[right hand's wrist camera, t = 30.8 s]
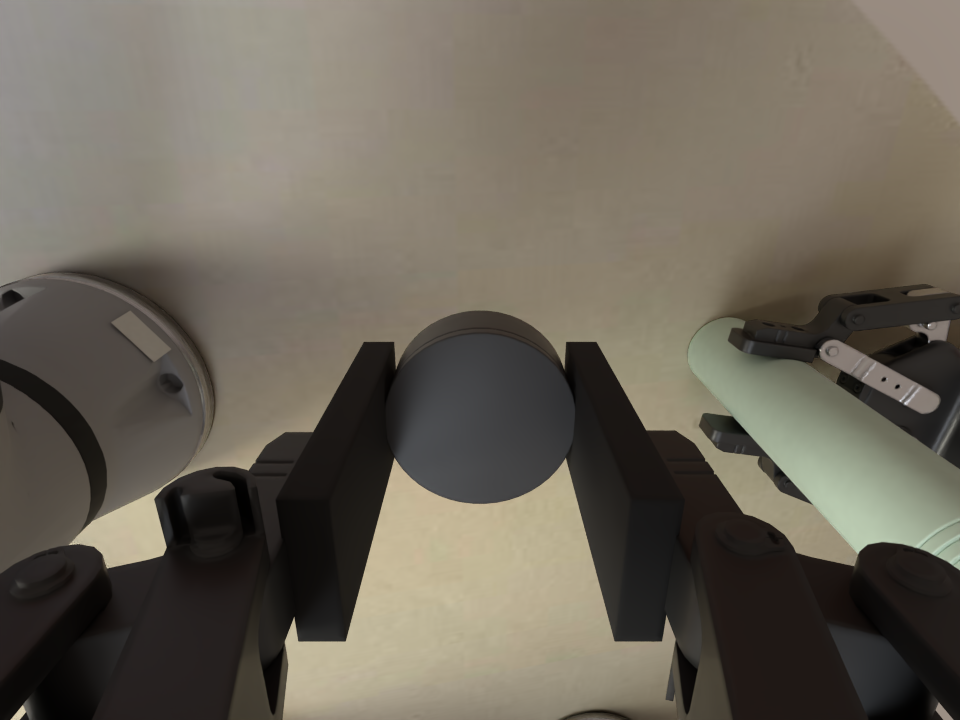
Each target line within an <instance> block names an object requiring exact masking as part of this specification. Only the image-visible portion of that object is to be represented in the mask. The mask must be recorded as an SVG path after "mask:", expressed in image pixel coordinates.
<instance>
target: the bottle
mask: <svg viewBox="0 0 960 720" xmlns="http://www.w3.org/2000/svg"><path fill="white" fill-rule="evenodd" d="M745 322H746V321H744V320H741V319H738V318H732V317H727V318H720V319H717V320H714V321H711V322H709V323H708V324H706V325H705V326H703V327H702V328H701V329H700V330H699V331H698V332H697V333H696V334H695V335H694V337H693V339H692V340H691V342H690V345H689V348H688V363H689V366H690V369H691V370H692V372H693V373H694V374H695V375H696V377H697V378H698V379H699V380H700V381H701V382H702V383H703V384H704V385H705V386H706V388H707V389H708V390H709V391H710V392H711V393H712V394H713V395H714V396H715V397H716V399H717V400H718V401H719V402H720V403H721V404H722V405H723V406H724V407H725V408H726V410H727V411H728V412H729V413H730V414H731V415H732V416H733V417H734V418H735V419H736V420H737V422H738V423H739V424H740V425H741V426H742V427H743V428H744V429H745V430H746V431H747V433H748V434H749V435H750V436H751V437H752V438H753V439H754V440H755V441H756V442H757V444H758V445H759V446H760V447H761V448H762V449H763V450H764V451H765V452H766V453H767V455H768V456H769V457H770V458H771V459H772V460H773V461H774V462H775V463H776V464H777V465H778V467H779V468H780V469H781V470H782V471H783V472H784V473H785V474H786V475H787V476H788V478H789V479H790V480H791V481H792V482H793V483H794V484H795V485H796V486H797V487H798V489H799V490H800V491H801V492H802V493H803V494H804V495H805V496H806V497H807V498H808V500H809V501H810V502H811V503H812V504H813V505H814V506H815V507H816V508H817V509H818V511H819V512H820V513H821V514H822V515H823V516H824V517H825V518H826V519H827V520H828V521H829V523H830V524H831V525H832V526H833V527H834V528H835V529H836V530H837V531H838V532H839V534H840V535H841V536H842V537H843V538H844V539H845V540H846V541H847V542H848V543H849V545H850V546H851V547H852V548H853V549H854V550H855V551H856V552H857V553H858V554H859V551H861V550H862V549H863V548H864V547H865V546H866V545H868V544H873V543H879V542H888V543H898V544H904V545H908V546H913V547H914V548H919V549H922V550H925V551H927V552H929V553H931V554H933V555H935V556H937V557H939V558H941V559H943V560H945V561H947V562H949V563H950V564H952V565H953V566H954V567H956V568H957V569H959V570H960V469H959V468H957V467H956V466H954V465H953V464H951V463H950V462H948V461H947V460H946V459H944V458H943V457H941V456H940V455H938V454H937V453H935V452H934V451H932V450H931V449H930V448H928V447H927V446H925V445H924V444H922V443H921V442H919V441H918V440H917V439H915V438H914V437H912V436H911V435H909V434H908V433H906V432H905V431H904V430H902V429H901V428H899V427H898V426H896V425H895V424H893V423H892V422H891V421H889V420H888V419H886V418H885V417H883V416H882V415H880V414H879V413H878V412H876V411H875V410H873V409H872V408H870V407H869V406H867V405H866V404H864V403H863V402H862V401H860V400H859V399H857V398H856V397H854V396H853V395H851V394H850V393H849V392H847V391H846V390H844V389H843V388H841V387H840V386H838V385H837V384H836V383H834V382H833V381H831V380H830V379H828V378H827V377H825V376H824V375H823V374H821V373H820V372H818V371H817V370H815V369H814V368H812V367H811V366H810V365H808V364H807V363H805V362H803V361H797V360H789V359H782V358H775V357H767V356H760V355H753V354H748V353H744V352H742V351H740V350H738V349H737V348H736V347H734V346H733V345H732V344H731V343H730V342H728V337H729V334H730V331H731V328H742V329H743V327H744V324H745Z"/></svg>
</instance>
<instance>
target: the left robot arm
mask: <svg viewBox="0 0 960 720" xmlns="http://www.w3.org/2000/svg"><path fill="white" fill-rule="evenodd" d="M818 311H819V313H818V315H817V316H816V317H815V318H814V319H813V320H812V321H811V322H810V323H808V324H806V325H801V326H798V325H791V324H784V323H777V322H770V321H763V320H756V319H755V320H751V321H746V322H745V324H744V327H743V329H742V328H731V331H730V334H729V337H728V342H730V343H731V344H732V345H733V346H734V347H736V348H737V349H738V350H740V351H742V352H744V353H748V354H753V355H760V356H767V357H775V358H782V359H789V360H797V361H803V362H810V363H812V361H813V359H814V357H815V358H820V359H822V360H823V361H825V362H827V363H829V364H831V365H833V366H834V367H836V368H838V369H840V370H841V373H840V375H839V377H838V380H837V385H838V386H840V387H841V388H843V389H844V390H846V391H847V392H849V393H850V394H851V395H853V396H854V397H856V398H857V399H859V400H860V401H862V402H863V403H864V404H866V405H867V406H869V407H870V408H872V409H873V410H875V411H876V412H878V413H879V414H880V415H882V416H883V417H885V418H886V419H888V420H889V421H891V422H892V423H893V424H895V425H896V426H898V427H899V428H901V429H902V430H904V431H905V432H906V433H908V434H909V435H911V436H912V437H914V438H915V439H917V440H918V441H919V442H921V443H922V444H924V445H925V446H927V447H928V448H930V449H931V450H932V451H934V452H935V453H937V454H938V455H940V456H941V457H943V458H944V459H946V460H947V461H948V462H950V463H951V464H953V465H954V466H956V467H957V468H959V469H960V349H959V348H956V347H955V346H954V345H952V344H951V343H949V342H946V341H947V336H948V331H949V326H950V321H951V320H956V319H959V318H960V295H957V294H954V293H951V292H948V291H945V290H942V289H939V288H936V287H933V286H930V285H927V284H921V285H912V286H903V287H895V288H886V289H878V290H869V291H861V292H852V293H844V294H835V295H829V296H826V297H824V298H823V299H822V300H821V301H820V303H819V306H818ZM896 326H903V327H905V328H907V329H910V330H912V331H914V332H916V335H915V336H912V337H910V338H907V339H905V340H903V341H900V342H898V343H896V344H893V345H891V346H889V347H886V348H884V349H882V350H879V351H877V352H875V353H872V354H870V355H866V354H864V353H862V352H860V351H858V350H857V349H855V348H853V347H851V346H849V345H847V344H845V343H844V342H845V340H846V339H847V338H848V337H849V336H850V334H851V333H852V332H853V331H861V330H869V329H878V328H887V327H896ZM699 427H700V428H701V429H702V431H703V432H704V433H705V435H706V436H707V437H708V438H709V439H710V440H711V441H712V443H713V444H714V445H715V447H716V448H718V449H720V450H722V451H723V452H729V453H737V454H740V453H741V454H745V455H753V456H760V457H759V459H758V465H759V467H760V468H761V469H762V470H763V472H765V473H766V474H767V475H768V476H769V477H770V479H771V480H772V481H773V482H774V484H775V486H776V487H777V488H778V489H779V490H780V491H781V492H783V493H785V494H788V495H790V496H793V497H795V498H798V499H800V500H803V501H805V502H808V503H810V504H812V503H811V502H810V501H809V500H808V498H807V497H806V496H805V495H804V494H803V493H802V492H801V491H800V490H799V489H798V487H797V486H796V485H795V484H794V483H793V482H792V481H791V480H790V479H789V478H788V476H787V475H786V474H785V473H784V472H783V471H782V470H781V469H780V468H779V467H778V465H777V464H776V463H775V462H774V461H773V460H772V459H771V458H770V457H769V456H768V455H767V453H766V452H765V451H764V450H763V449H762V448H761V447H760V446H759V445H758V444H757V442H756V441H755V440H754V439H753V438H752V437H751V436H750V435H749V434H748V433H747V431H746V430H745V429H744V428H743V427H742V426H741V425H740V424H739V423H738V422H737V420H736V419H735V418H734V417H732V416H724V415H716V414H709V413H704V414H703V415H702V418H701V421H700V424H699ZM812 505H813V504H812ZM565 720H627V719H625V718H623V717H621V716H618V715H614V714H609V713H584V714H579V715H575V716H572V717H569V718H567V719H565Z"/></svg>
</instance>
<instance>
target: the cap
mask: <svg viewBox="0 0 960 720" xmlns="http://www.w3.org/2000/svg"><path fill="white" fill-rule="evenodd" d="M385 416H386V430H387V441H388V444H389V447H390V449H391V451H392V453H393V455H394V457H395V459H396V460H397V462H398V463H399V465H400V466H401V467H402V469H403V470H404V471H405V472H406V473H407V474H408V475H409V476H410V477H411V478H412V479H413V480H414V481H416V482H417V483H418V484H419V485H421V486H422V487H424V488H426V489H427V490H429V491H431V492H433V493H435V494H437V495H439V496H442V497H444V498H447V499H450V500H454V501H459V502H464V503H473V504H487V503H497V502H502V501H506V500H510V499H513V498H516V497H519V496H521V495H524V494H526V493H528V492H530V491H532V490H533V489H535V488H537V487H538V486H540V485H541V484H542V483H544V482H545V481H546V480H547V479H549V478H550V477H551V476H552V475H553V474H554V473H555V471H556V470H557V469H558V468H559V467H560V465H561V464H562V463H563V461H564V460H565V458H566V456H567V454H568V452H569V450H570V448H571V445H572V443H573V435H574V421H575V400H574V396H573V393H572V390H571V387H570V385H569V382H568V379H567V376H566V373H565V371H564V368H563V365H562V363H561V360H560V358H559V356H558V354H557V352H556V350H555V349H554V348H553V346H552V345H551V344H550V342H549V341H548V340H547V339H546V338H545V337H544V336H543V335H542V334H541V333H540V332H539V331H538V330H536V329H535V328H534V327H532V326H531V325H529V324H527V323H526V322H524V321H522V320H520V319H518V318H515V317H513V316H510V315H507V314H503V313H499V312H492V311H468V312H462V313H458V314H454V315H450V316H448V317H445V318H443V319H440V320H438V321H437V322H435V323H433V324H431V325H430V326H428V327H427V328H425V329H424V330H423V331H421V332H420V333H419V334H418V335H417V336H416V337H415V338H414V339H413V340H412V342H411V343H410V344H409V345H408V347H407V348H406V350H405V351H404V353H403V355H402V357H401V359H400V361H399V364H398V366H397V369H396V372H395V374H394V377H393V380H392V383H391V386H390V388H389V391H388V394H387V398H386V402H385Z"/></svg>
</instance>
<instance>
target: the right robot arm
mask: <svg viewBox="0 0 960 720" xmlns="http://www.w3.org/2000/svg"><path fill="white" fill-rule="evenodd" d="M395 372H396V365H395V348H394V342H364V343H363V345H362V346H361V348H360V350H359V352H358V354H357V355H356V357H355V359H354V361H353V362H352V364H351V366H350V368H349V370H348V371H347V373H346V375H345V377H344V378H343V380H342V382H341V384H340V386H339V387H338V389H337V391H336V393H335V394H334V396H333V398H332V400H331V402H330V403H329V405H328V407H327V409H326V410H325V412H324V414H323V416H322V418H321V419H320V421H319V423H318V425H317V426H316V428H315V430H314V432H285V433H284V434H282V435H281V436H279V437H278V438H276V439H275V440H273V441H272V442H270V443H269V444H267V445H266V446H265V448H264V449H263V451H262V452H261V454H260V455H259V456H258V458H257V459H256V463H255V464H253V465H252V467H251V468H250V469H249V471H248V470H245V469H241V468H237V467H214V468H209V469H204V470H199V471H196V472H193V473H191V474H188V475H186V476H183V477H180V478H178V479H177V480H175V481H174V482H172V483H170V484H169V485H167V486H166V487H164V488H163V489H162V490H161V492H160V493H159V494H158V495H157V496H156V497H155V499H154V500H155V504H156V507H157V511H158V515H159V519H160V523H161V527H162V530H163V534H164V538H165V542H166V546H167V548H166V551H165V553H164V555H163V556H160V557H157V558H153V559H150V560H145V561H141V562H136V563H131V564H127V565H122V566H117V567H112V568H108V569H107V568H106V565H105V562H104V558H103V555H102V554H101V553H100V552H99V551H98V550H97V549H96V548H94V547H91V546H86V545H80V544H77V545H69V544H70V543H71V542H72V541H73V540H74V539H75V538H76V536H77V535H78V534H79V533H80V532H81V531H82V530H83V529H84V528H85V527H86V526H87V525H89V524H90V523H91V522H92V521H93V520H95V519H97V518H99V517H101V516H104V515H106V514H108V513H110V512H112V511H114V510H116V509H118V508H120V507H122V506H125V505H127V504H129V503H131V502H133V501H135V500H137V499H139V498H141V497H143V496H145V495H147V494H150V493H152V492H154V491H155V490H157V489H159V488H161V487H162V486H164V485H165V484H166V483H168V482H170V481H171V480H172V479H174V478H175V477H176V476H178V475H179V474H180V473H181V472H182V471H183V470H184V469H185V468H186V466H187V465H188V464H189V463H190V462H191V461H192V460H193V458H194V457H195V456H196V455H197V454H198V452H199V451H200V450H201V448H202V446H203V445H204V443H205V441H206V439H207V437H208V435H209V432H210V429H211V425H212V420H213V412H214V398H213V390H212V385H211V381H210V377H209V374H208V371H207V369H206V366H205V364H204V361H203V359H202V357H201V355H200V353H199V352H198V350H197V348H196V347H195V345H194V344H193V342H192V341H191V339H190V338H189V337H188V335H187V334H186V333H185V332H184V330H183V329H182V328H181V327H180V326H179V325H178V324H177V323H176V322H175V321H174V320H173V319H172V318H171V317H170V316H169V315H168V314H167V313H166V312H165V311H163V310H162V309H161V308H160V307H159V306H157V305H156V304H154V303H153V302H152V301H150V300H149V299H147V298H146V297H144V296H142V295H140V294H139V293H137V292H135V291H133V290H131V289H129V288H127V287H125V286H123V285H120V284H118V283H116V282H113V281H110V280H107V279H104V278H100V277H96V276H92V275H87V274H80V273H68V272H57V273H46V274H40V275H35V276H32V277H28V278H25V279H22V280H18V281H15V282H12V283H9V284H6V285H4V286H1V287H0V720H11V718H12V717H13V716H14V715H15V714H16V712H17V711H18V710H19V709H20V708H21V706H22V705H23V706H24V708H25V711H26V713H25V714H24V715H23V717H22V718H21V719H20V720H282V717H283V708H284V699H285V690H286V680H287V671H288V660H287V653H286V647H285V639H286V637H287V634H288V631H289V629H290V626H291V624H292V621H293V619H294V617H295V623H296V629H297V636H298V641H346V638H347V634H348V630H349V627H350V623H351V619H352V615H353V612H354V608H355V604H356V600H357V597H358V593H359V589H360V585H361V582H362V578H363V574H364V570H365V566H366V563H367V559H368V555H369V551H370V548H371V544H372V540H373V536H374V533H375V529H376V525H377V521H378V518H379V514H380V510H381V506H382V502H383V499H384V495H385V491H386V487H387V484H388V480H389V476H390V472H391V469H392V465H393V461H394V455H393V453H392V451H391V449H390V447H389V444H388V441H387V430H386V416H385V402H386V398H387V394H388V391H389V388H390V386H391V383H392V380H393V377H394V374H395ZM565 373H566V376H567V379H568V382H569V385H570V387H571V390H572V393H573V396H574V400H575V421H574V435H573V443H572V445H571V448H570V450H569V452H568V454H567V456H566V460H567V464H568V467H569V471H570V475H571V479H572V482H573V486H574V490H575V494H576V497H577V501H578V505H579V509H580V512H581V516H582V520H583V524H584V527H585V531H586V535H587V539H588V543H589V546H590V550H591V554H592V558H593V561H594V565H595V569H596V573H597V576H598V580H599V584H600V588H601V591H602V595H603V599H604V603H605V607H606V610H607V614H608V618H609V622H610V625H611V629H612V633H613V637H614V640H615V641H662V638H663V632H664V626H665V620H666V615H667V617H668V620H669V622H670V625H671V628H672V630H673V633H674V635H675V638H676V641H675V647H674V653H673V658H672V664H671V670H670V675H669V681H668V687H667V694H666V700H670V701H673V699H674V694H675V697H676V707H677V716H678V720H943V719H942V718H941V717H940V715H939V714H938V713H937V712H936V710H935V709H936V707H937V705H938V703H940V704H941V705H942V706H943V708H944V709H945V710H946V711H947V712H948V714H949V715H950V716H951V717H952V718H953V720H960V570H959V569H957V568H956V567H954V566H953V565H952V564H950V563H949V562H947V561H945V560H943V559H941V558H939V557H937V556H935V555H933V554H931V553H929V552H927V551H925V550H922V549H919V548H914V547H913V546H908V545H904V544H898V543H888V542H879V543H873V544H868V545H866V546H865V547H864V548H863V549H862V550H861V551H859V554H858V557H857V560H856V563H855V566H850V565H845V564H841V563H836V562H831V561H827V560H822V559H817V558H812V557H809V556H805V555H802V554H798V553H796V552H795V550H794V547H793V546H792V545H791V543H790V542H789V540H788V539H787V538H786V536H785V535H784V534H783V533H781V532H780V531H779V530H777V529H776V528H775V527H773V526H772V525H771V524H769V523H766V522H764V521H762V520H760V519H757V518H755V517H753V516H749V515H745V514H743V512H742V511H741V510H740V508H739V507H738V505H737V504H736V502H735V501H734V500H733V498H732V497H731V495H730V494H729V492H728V491H727V489H726V488H725V487H724V485H723V484H722V482H721V481H720V479H719V478H718V477H717V475H716V474H714V471H713V469H712V468H711V466H710V465H709V464H708V462H705V458H704V456H703V455H702V454H701V452H700V451H699V449H698V448H697V446H696V445H695V444H694V443H693V442H692V441H690V440H689V439H687V438H686V437H684V436H683V435H681V434H680V433H678V432H677V431H646V429H645V428H644V426H643V424H642V422H641V420H640V419H639V417H638V415H637V413H636V412H635V410H634V408H633V406H632V404H631V403H630V401H629V399H628V397H627V396H626V394H625V392H624V390H623V388H622V387H621V385H620V383H619V381H618V380H617V378H616V376H615V374H614V372H613V371H612V369H611V367H610V365H609V364H608V362H607V360H606V358H605V356H604V355H603V353H602V351H601V349H600V348H599V346H598V344H597V342H566V354H565Z"/></svg>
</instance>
